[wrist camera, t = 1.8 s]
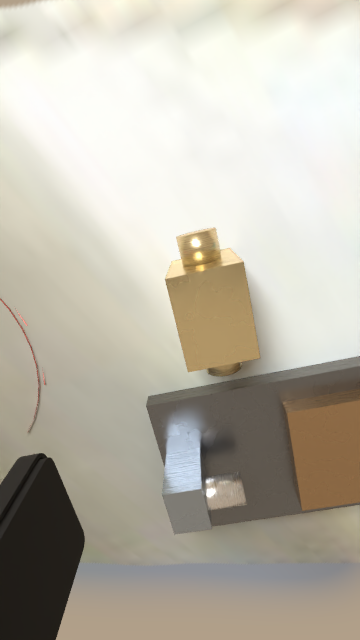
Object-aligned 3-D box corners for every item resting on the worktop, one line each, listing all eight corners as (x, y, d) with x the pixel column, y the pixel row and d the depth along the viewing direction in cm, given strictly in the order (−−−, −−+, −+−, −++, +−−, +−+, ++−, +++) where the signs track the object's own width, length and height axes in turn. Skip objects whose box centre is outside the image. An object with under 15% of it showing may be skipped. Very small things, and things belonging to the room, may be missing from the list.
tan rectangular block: (225, 222, 25) (237, 226, 18) (247, 343, 28) (264, 385, 21) (165, 236, 25) (156, 245, 19) (193, 353, 28) (194, 398, 21)
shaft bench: (516, 326, 26) (605, 358, 21) (505, 468, 31) (577, 527, 25) (148, 396, 29) (138, 441, 24) (184, 516, 34) (182, 579, 28)
